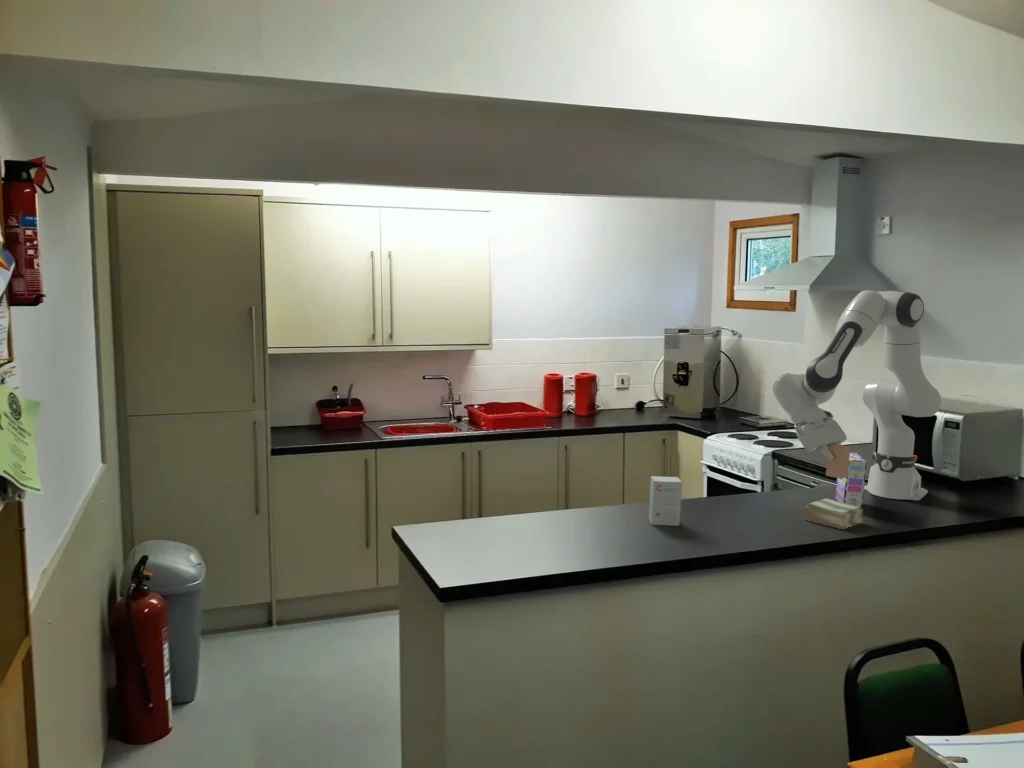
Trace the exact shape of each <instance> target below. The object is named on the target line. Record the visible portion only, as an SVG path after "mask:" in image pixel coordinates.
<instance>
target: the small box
mask: <svg viewBox="0 0 1024 768" xmlns="http://www.w3.org/2000/svg"><path fill="white" fill-rule="evenodd" d="M649 485H650V487H649V488H650V489H649V503H648V504H649V505H648V520H649V522H650V524H651V525H652V526H670V527H672V526H674V527H675V526H676V527H679V526H680V521H681V510H682V508H681V504H682V490H683V482H682V481H681V479H680V478H679V476H656V475H655V476H652V475H651V476H650V484H649Z"/></svg>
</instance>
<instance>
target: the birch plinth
mask: <svg viewBox="0 0 1024 768" xmlns="http://www.w3.org/2000/svg"><path fill="white" fill-rule="evenodd" d="M863 513H864V509H863V508H862V509H861V507H860V506H856V505H852V504H847V503H843V502H839V501H836V500H834V499H831V498H823V499H819V500H817V501H812V502H810V503H807V505H805V506H804V515H803V520H804V521H806V520H808V521H807V522H810V521H812V522H811V523H814V522H815V524H818V523H820V524H819V525H821V524H823V525H822V526H825V525H827V526H826V527H829V526H831V527H830V528H833V527H835V528H834V529H836V528H838V529H837V530H840V529H842V530H841V531H844V530H846V528H847V529H849V528H848V527H850V528H852V527H854V526H853V525H855V526H857V525H856V524H858V525H860V524H863V522H862V521H863ZM859 523H860V524H859ZM851 526H852V527H851ZM843 529H844V530H843Z"/></svg>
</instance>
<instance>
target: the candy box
mask: <svg viewBox="0 0 1024 768" xmlns="http://www.w3.org/2000/svg"><path fill="white" fill-rule="evenodd" d="M866 469H867V460H866V459H864V458H863V457H862V456H861V455H860V454H859V453H857V452H850V456H849V467H848V477H845V478H841V479H839V478H836V489H835V499H836V500H837V501H839V502H843V503H847V504H852V505H856V506H860V507H861V509H863V500H864V492H865V491H864V490H865V489H864V486H865V479H866V472H867V470H866ZM836 500H835V501H836Z"/></svg>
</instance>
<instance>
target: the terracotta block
mask: <svg viewBox="0 0 1024 768" xmlns="http://www.w3.org/2000/svg"><path fill="white" fill-rule="evenodd" d="M827 449H828V450H829V451H830V452H831V453H834V455H835V456H836V458H835V459H834V460H832V461H829V460H828V458H827V457H826V460H827V461H826V468H825V469H826V471H825V476H826V477H830V478H835V479H837V478H839V479H841V478H845V477H848V467H849V456H850V453H851V446H847V445H842V444H841V445H837V444H835V445H830V446H828V448H827Z"/></svg>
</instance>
